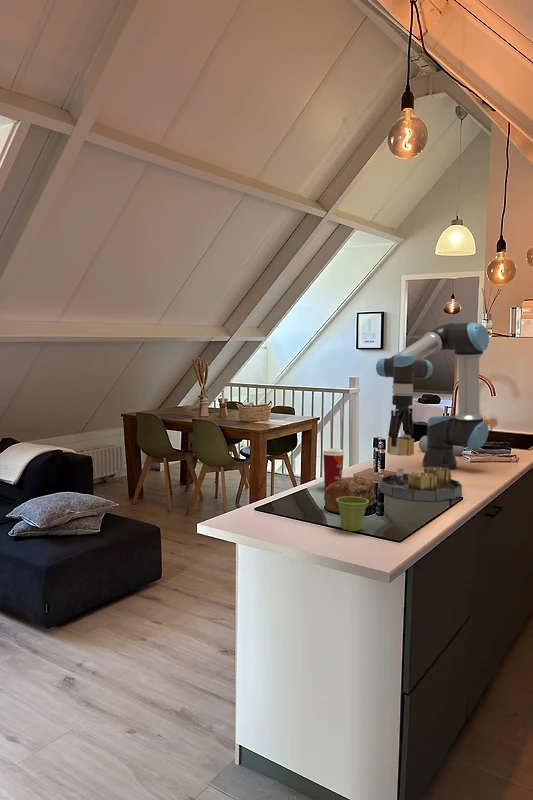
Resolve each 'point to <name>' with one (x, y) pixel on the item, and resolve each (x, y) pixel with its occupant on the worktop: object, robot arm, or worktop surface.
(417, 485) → the seated gear
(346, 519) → the plant pot
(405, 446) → the planet gear
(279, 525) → the worktop surface
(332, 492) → the bread
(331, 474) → the coffee cup
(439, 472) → the seated gear
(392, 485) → the tray
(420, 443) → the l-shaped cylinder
